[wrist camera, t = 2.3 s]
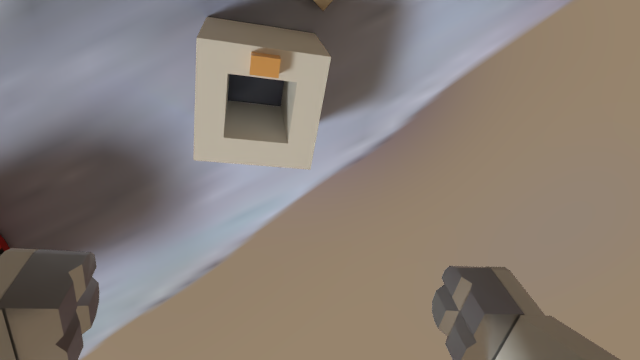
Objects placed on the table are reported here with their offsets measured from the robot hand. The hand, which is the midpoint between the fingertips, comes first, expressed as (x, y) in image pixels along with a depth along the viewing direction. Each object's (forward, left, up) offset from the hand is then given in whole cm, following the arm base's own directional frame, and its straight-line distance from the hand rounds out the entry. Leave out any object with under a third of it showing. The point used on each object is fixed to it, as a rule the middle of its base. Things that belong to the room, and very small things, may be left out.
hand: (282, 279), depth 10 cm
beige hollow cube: (0, 0, -16) cm, 16 cm away
